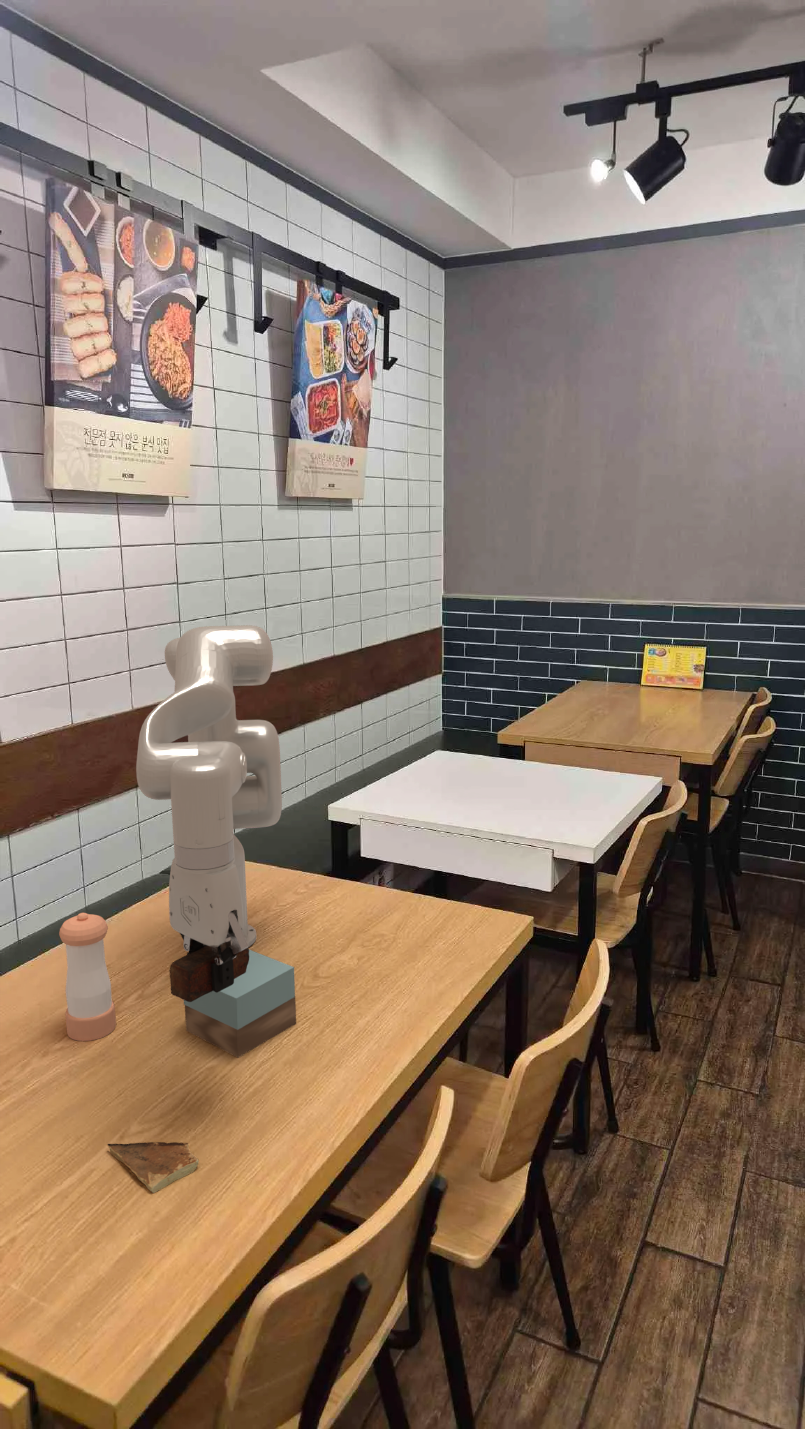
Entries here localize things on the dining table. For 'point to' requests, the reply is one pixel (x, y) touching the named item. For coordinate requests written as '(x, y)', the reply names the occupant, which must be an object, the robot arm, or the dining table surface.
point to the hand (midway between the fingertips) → (211, 980)
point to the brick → (200, 972)
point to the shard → (156, 1161)
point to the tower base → (245, 1036)
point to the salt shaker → (87, 979)
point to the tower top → (249, 993)
